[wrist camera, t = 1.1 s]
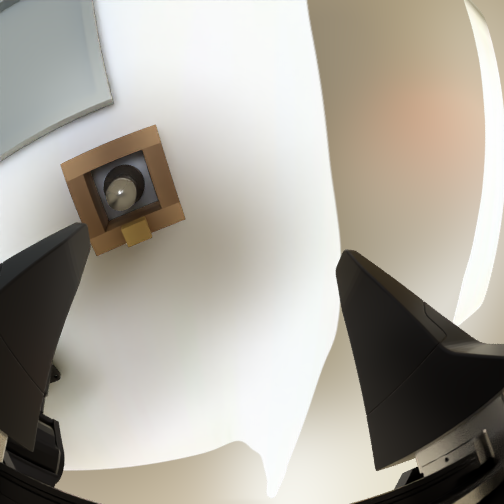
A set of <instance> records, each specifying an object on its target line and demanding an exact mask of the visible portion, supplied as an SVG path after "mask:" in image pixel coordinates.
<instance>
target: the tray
mask: <svg viewBox="0 0 504 504" xmlns="http://www.w3.org/2000/svg"><path fill="white" fill-rule="evenodd" d="M113 103H114V102H113V99H112V95H111V91H110V87H109V83H108V78H107V74H106V70H105V65H104V61H103V56H102V51H101V46H100V41H99V36H98V30H97V25H96V19H95V13H94V6H93V0H0V161H2V160H3V159H5V158H6V157H8V156H10V155H11V154H13V153H14V152H16V151H17V150H19V149H21V148H22V147H24V146H26V145H27V144H29V143H31V142H33V141H34V140H36V139H38V138H40V137H42V136H43V135H45V134H47V133H49V132H51V131H53V130H55V129H57V128H59V127H61V126H63V125H65V124H67V123H69V122H71V121H73V120H75V119H77V118H80V117H82V116H84V115H86V114H89V113H91V112H93V111H96V110H98V109H100V108H103V107H105V106H108V105H110V104H113Z"/></svg>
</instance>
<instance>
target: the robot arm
mask: <svg viewBox="0 0 504 504" xmlns="http://www.w3.org/2000/svg"><path fill="white" fill-rule="evenodd" d="M90 248H91V243H90V237H89V231H88V226H87V224H86V223H74V224H72V225H70V226H68V227H66V228H64V229H62V230H60V231H58V232H56V233H54V234H52V235H50V236H48V237H47V238H45V239H43V240H41V241H39V242H37V243H35V244H34V245H32V246H30V247H28V248H26V249H25V250H23V251H21V252H19V253H18V254H16V255H14V256H12V257H11V258H9V259H7V260H6V261H4V262H3V263H1V264H0V504H101V503H98V502H94V501H91V500H88V499H84V498H81V497H78V496H75V495H72V494H70V493H67V492H64V491H62V490H59V489H56V488H54V486H55V484H56V483H57V482H58V481H59V480H60V478H61V475H62V473H63V468H64V450H63V445H62V439H61V434H60V428H59V422H58V421H56V420H54V419H51V418H49V417H47V416H45V415H44V414H43V410H44V403H45V397H46V396H47V395H48V389H49V383H52V382H55V381H58V380H60V377H61V374H60V373H59V371H58V370H57V369H56V368H55V367H54V365H53V364H52V360H53V357H54V354H55V350H56V347H57V344H58V341H59V338H60V335H61V332H62V329H63V326H64V323H65V320H66V317H67V315H68V312H69V309H70V307H71V304H72V301H73V299H74V296H75V294H76V291H77V289H78V286H79V283H80V280H81V277H82V274H83V270H84V267H85V264H86V261H87V258H88V255H89V252H90ZM336 279H337V284H338V290H339V296H340V303H341V308H342V312H343V316H344V320H345V324H346V328H347V331H348V335H349V339H350V343H351V347H352V351H353V356H354V360H355V364H356V368H357V373H358V377H359V382H360V386H361V391H362V396H363V401H364V406H365V411H366V415H367V422H368V427H369V433H370V439H371V445H372V451H373V457H374V464H375V469H376V471H379V470H382V469H385V468H388V467H391V466H394V465H397V464H400V463H403V462H405V461H408V460H411V459H414V458H416V461H417V465H418V467H416V468H414V469H411V470H409V471H407V472H404V473H403V474H402V475H401V477H400V479H399V481H398V483H397V485H396V487H395V489H394V490H392V491H389V492H386V493H383V494H380V495H377V496H374V497H371V498H368V499H365V500H361V501H358V502H354V503H351V504H504V344H486V343H482V342H479V341H477V340H476V339H474V338H473V337H471V336H470V335H468V334H467V333H466V332H464V331H463V330H462V329H460V328H459V327H458V326H456V325H455V324H453V323H452V322H451V321H449V320H448V319H447V318H445V317H444V316H442V315H441V314H440V313H438V312H437V311H436V310H435V309H433V308H432V307H431V306H429V305H428V304H427V303H426V302H423V300H422V299H420V298H419V297H418V296H416V295H415V294H414V293H413V292H411V291H410V290H408V289H407V288H406V287H405V286H403V285H402V284H401V283H399V282H398V281H397V280H395V279H394V278H393V277H391V276H390V275H389V274H387V273H386V272H384V271H383V270H382V269H380V268H379V267H378V266H376V265H375V264H373V263H372V262H371V261H369V260H368V259H366V258H365V257H364V256H362V255H361V254H359V253H358V252H356V251H354V250H344V251H343V253H342V255H341V257H340V260H339V262H338V265H337V267H336ZM55 375H57V376H55Z"/></svg>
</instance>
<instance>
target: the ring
mask: <svg viewBox="0 0 504 504" xmlns="http://www.w3.org/2000/svg"><path fill="white" fill-rule="evenodd" d="M139 150H142V152H143V155H144V158H145V162H146V165H147V168H148V171H149V174H150V177H151V180H152V183H153V186H154V189H155V192H156V195H157V198H158V201H156V202H154V203H151V204H149V205H146V206H144V207H141V208H139V209H136V210H134V211H131V212H129V213H127V214H124V215H122V216H120V217H117V218H115V219H113V220H110V221H109V220H108V217H107V215H106V212H105V210H104V207H103V204H102V202H101V199H100V196H99V194H98V191H97V188H96V185H95V183H94V180H93V177H92V174H91V170H93V169H95V168H98V167H100V166H102V165H104V164H107V163H109V162H112V161H114V160H116V159H119V158H121V157H124V156H126V155H129V154H131V153H134V152H136V151H139ZM60 165H61V168H62V171H63V174H64V177H65V180H66V183H67V186H68V188H69V191H70V194H71V197H72V199H73V202H74V204H75V207H76V210H77V212H78V215H79V217H80V219H81V222H82V223H86V224H87V226H88V231H89V237H90V243H91V245H92V247H93V249H94V251H95V253H96V256H98V255H101V254H103V253H105V252H107V251H110V250H112V249H114V248H117V247H119V246H121V245H124V244H126V243H127V245H128V247H131V246H133V245H136V244H138V243H140V242H143V241H145V240H148V239H150V238H152V234H151V233H152V232H155V231H157V230H160V229H162V228H165V227H167V226H170V225H172V224H175V223H177V222H180V221H182V220H185V216H184V213H183V210H182V207H181V204H180V201H179V198H178V195H177V192H176V189H175V186H174V183H173V180H172V177H171V173H170V170H169V167H168V164H167V161H166V157H165V154H164V151H163V148H162V144H161V141H160V137H159V134H158V131H157V127H156V125H153V126H150V127H147V128H144V129H142V130H139V131H136V132H133V133H131V134H128V135H125V136H123V137H120V138H118V139H115V140H113V141H110V142H108V143H106V144H103V145H101V146H99V147H96V148H94V149H92V150H89V151H87V152H85V153H83V154H81V155H79V156H76V157H74V158H72V159H70V160H68V161H66V162H64V163H62V164H60Z"/></svg>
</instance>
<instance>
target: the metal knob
mask: <svg viewBox="0 0 504 504" xmlns="http://www.w3.org/2000/svg"><path fill="white" fill-rule="evenodd" d="M144 187H145V183H144V178H143V175H142V174H141V172H140V171H139V170H138V169H137V168H136V167H134V166H131V165H126V164H125V165H119V166H117V167H115V168H113V169H112V170H111V171H110V172H109V173H108V174H107V176H106V178H105V181H104V193H105V196H106V200H107V203H108V205H109V206H110V207H111V208H112V209H114V210H117V211H124V210H127V209H129V208H130V207H131V206H132V205H133V204H135V203H136V202H137V201H138V200H139V199H140V198H141V196H142V194H143V192H144Z"/></svg>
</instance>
